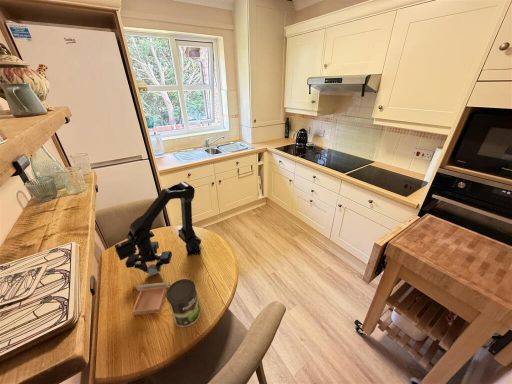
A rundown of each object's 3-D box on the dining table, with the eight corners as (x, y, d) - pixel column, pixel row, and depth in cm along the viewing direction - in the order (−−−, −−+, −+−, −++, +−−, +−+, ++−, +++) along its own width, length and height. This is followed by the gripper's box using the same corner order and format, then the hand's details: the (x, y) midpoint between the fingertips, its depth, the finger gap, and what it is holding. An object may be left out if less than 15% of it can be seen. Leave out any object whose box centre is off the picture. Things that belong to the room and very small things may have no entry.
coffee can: (206, 309, 85) (201, 286, 78) (186, 332, 78) (179, 309, 71) (188, 297, 90) (182, 274, 83) (168, 317, 82) (159, 294, 76)
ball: (161, 268, 104) (158, 261, 101) (158, 277, 99) (155, 269, 97) (150, 269, 103) (148, 262, 101) (147, 278, 99) (144, 270, 96)
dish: (166, 289, 93) (165, 286, 92) (160, 312, 84) (158, 308, 83) (142, 292, 92) (141, 289, 91) (133, 315, 84) (131, 311, 83)
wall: (168, 286, 95) (167, 282, 94) (168, 287, 94) (166, 283, 93) (138, 289, 94) (136, 285, 93) (137, 290, 93) (136, 286, 92)
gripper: (171, 233, 101) (177, 257, 109) (130, 236, 99) (139, 260, 107) (165, 250, 91) (172, 275, 99) (119, 254, 90) (130, 279, 97)
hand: (153, 271), depth 101 cm, fingers closed on ball, 5 cm apart
